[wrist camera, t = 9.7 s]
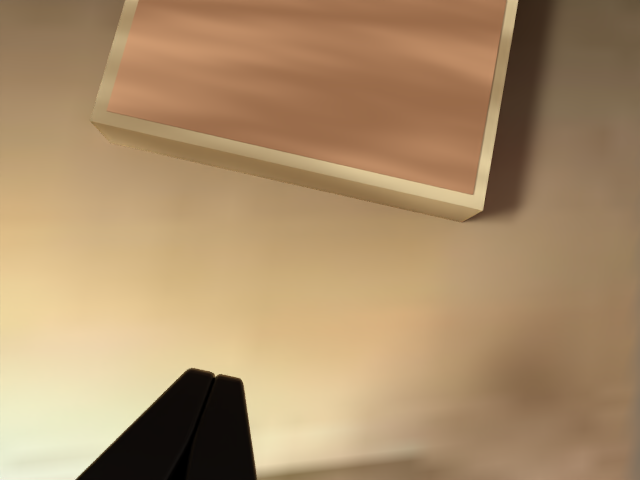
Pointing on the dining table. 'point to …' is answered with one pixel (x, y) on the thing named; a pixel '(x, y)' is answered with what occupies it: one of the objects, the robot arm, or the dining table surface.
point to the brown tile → (318, 93)
